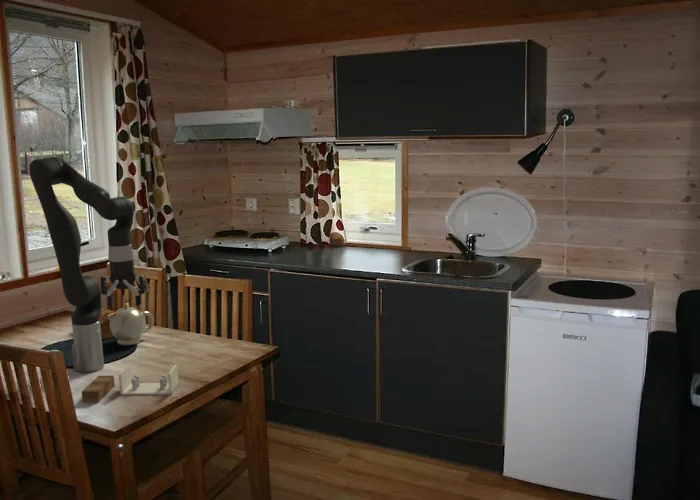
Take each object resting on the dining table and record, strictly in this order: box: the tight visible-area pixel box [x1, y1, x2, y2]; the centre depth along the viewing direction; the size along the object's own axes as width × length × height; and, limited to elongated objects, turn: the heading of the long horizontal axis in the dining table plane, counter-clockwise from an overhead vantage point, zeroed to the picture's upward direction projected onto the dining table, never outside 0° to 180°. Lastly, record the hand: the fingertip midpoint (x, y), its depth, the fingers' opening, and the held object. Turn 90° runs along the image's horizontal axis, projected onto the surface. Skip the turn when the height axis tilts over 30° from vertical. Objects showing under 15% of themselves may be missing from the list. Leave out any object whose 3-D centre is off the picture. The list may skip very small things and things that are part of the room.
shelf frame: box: [118, 364, 180, 396], centre depth 208 cm, size 17×8×7 cm, turn 90°
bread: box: [100, 307, 116, 340], centre depth 266 cm, size 19×11×10 cm, turn 45°
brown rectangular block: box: [81, 375, 116, 404], centre depth 205 cm, size 13×5×4 cm, turn 179°
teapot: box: [108, 302, 155, 347], centre depth 254 cm, size 18×14×16 cm
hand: (125, 306), depth 211 cm, fingers open, 8 cm apart
